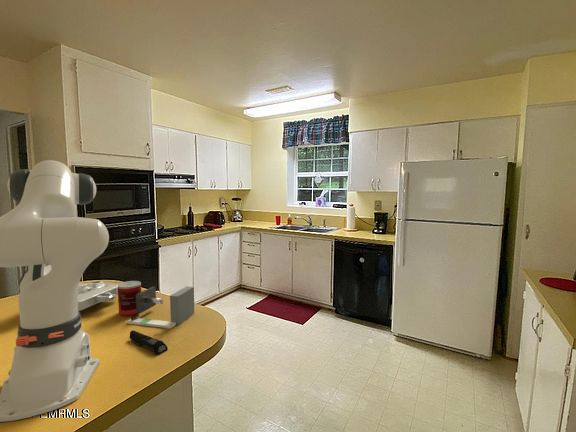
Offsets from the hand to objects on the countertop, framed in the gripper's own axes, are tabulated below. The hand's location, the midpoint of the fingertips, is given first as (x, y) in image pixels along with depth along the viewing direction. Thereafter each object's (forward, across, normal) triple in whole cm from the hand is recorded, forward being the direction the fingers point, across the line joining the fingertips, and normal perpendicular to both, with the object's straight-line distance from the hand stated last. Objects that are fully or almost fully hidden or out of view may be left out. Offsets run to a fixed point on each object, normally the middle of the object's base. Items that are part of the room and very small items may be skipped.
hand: (112, 298), depth 111 cm
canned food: (+8, 0, +5) cm, 9 cm away
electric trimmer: (+30, -19, +6) cm, 36 cm away
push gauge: (+22, -1, +5) cm, 23 cm away
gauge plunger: (+18, -1, +4) cm, 18 cm away
